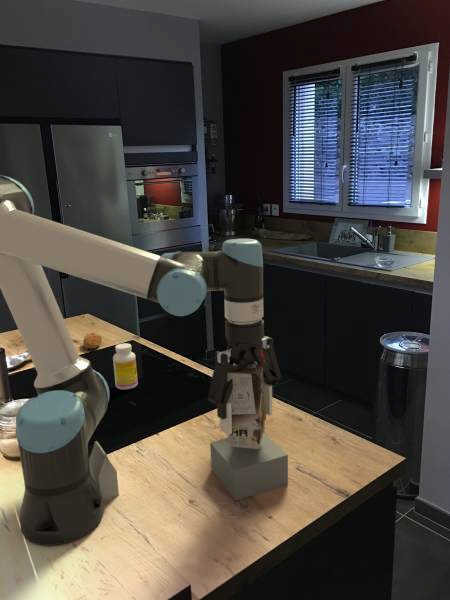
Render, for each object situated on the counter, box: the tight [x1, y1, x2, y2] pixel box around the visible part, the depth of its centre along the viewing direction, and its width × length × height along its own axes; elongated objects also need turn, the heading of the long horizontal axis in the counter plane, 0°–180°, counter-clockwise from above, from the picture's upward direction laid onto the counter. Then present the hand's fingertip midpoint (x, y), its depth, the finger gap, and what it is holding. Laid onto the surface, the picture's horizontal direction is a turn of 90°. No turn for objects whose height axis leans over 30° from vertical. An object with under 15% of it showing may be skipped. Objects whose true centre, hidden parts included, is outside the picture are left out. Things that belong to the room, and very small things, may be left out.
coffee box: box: [227, 362, 266, 449], centre depth 107 cm, size 9×6×16 cm
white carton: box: [89, 440, 120, 502], centre depth 107 cm, size 4×7×10 cm, turn 31°
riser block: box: [209, 432, 289, 501], centre depth 110 cm, size 12×12×7 cm
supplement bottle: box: [112, 342, 139, 391], centre depth 157 cm, size 7×7×13 cm
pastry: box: [82, 332, 103, 349], centre depth 194 cm, size 9×7×4 cm
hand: (246, 421), depth 108 cm, fingers closed on coffee box, 11 cm apart
